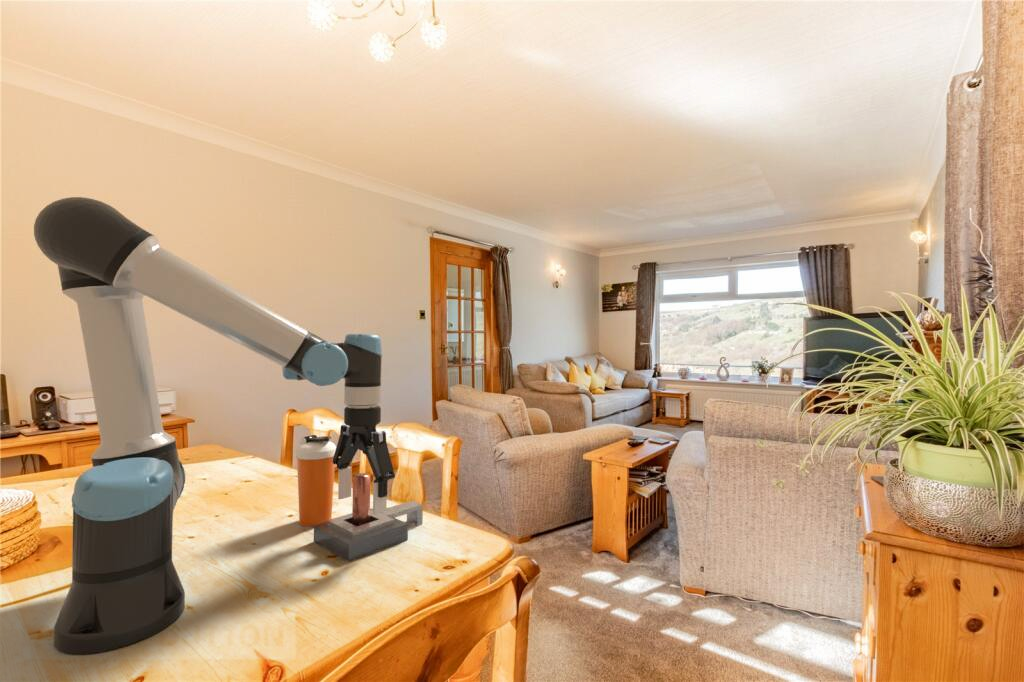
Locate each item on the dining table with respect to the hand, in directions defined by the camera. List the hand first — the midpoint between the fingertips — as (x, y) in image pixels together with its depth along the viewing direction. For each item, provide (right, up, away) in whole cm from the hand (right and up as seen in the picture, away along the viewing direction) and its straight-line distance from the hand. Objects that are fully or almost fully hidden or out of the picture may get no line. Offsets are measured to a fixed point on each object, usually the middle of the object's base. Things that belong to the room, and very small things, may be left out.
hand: (361, 504), depth 102 cm
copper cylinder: (0, -8, 0) cm, 8 cm away
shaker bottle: (-14, -8, +11) cm, 20 cm away
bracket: (+3, -8, +4) cm, 9 cm away
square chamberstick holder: (0, -8, 0) cm, 8 cm away
